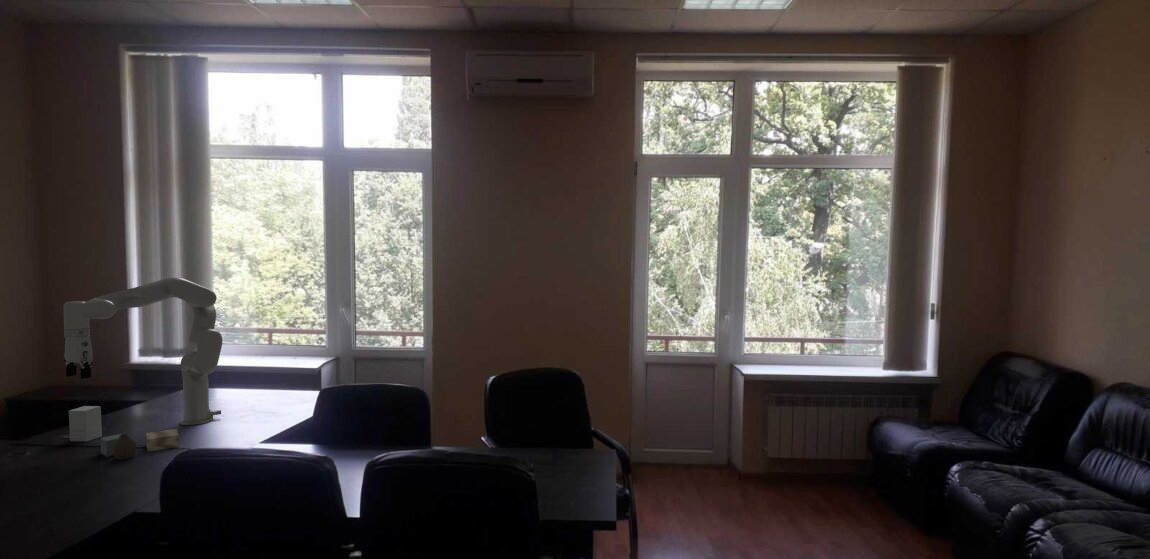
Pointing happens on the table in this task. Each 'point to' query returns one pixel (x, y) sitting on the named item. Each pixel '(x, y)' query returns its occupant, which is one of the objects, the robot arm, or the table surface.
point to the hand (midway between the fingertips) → (78, 377)
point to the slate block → (108, 444)
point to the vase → (124, 447)
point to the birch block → (162, 440)
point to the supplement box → (85, 423)
